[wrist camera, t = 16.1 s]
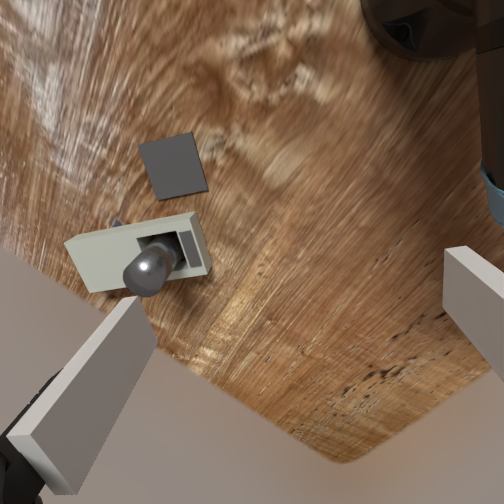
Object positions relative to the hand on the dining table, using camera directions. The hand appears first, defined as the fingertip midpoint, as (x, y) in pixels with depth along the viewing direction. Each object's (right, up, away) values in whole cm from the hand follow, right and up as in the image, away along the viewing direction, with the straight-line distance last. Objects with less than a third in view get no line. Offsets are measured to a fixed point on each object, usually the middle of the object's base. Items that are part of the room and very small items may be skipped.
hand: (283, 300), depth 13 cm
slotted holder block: (-17, +3, +30) cm, 34 cm away
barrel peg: (-13, +3, +29) cm, 32 cm away
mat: (-11, +13, +25) cm, 30 cm away
